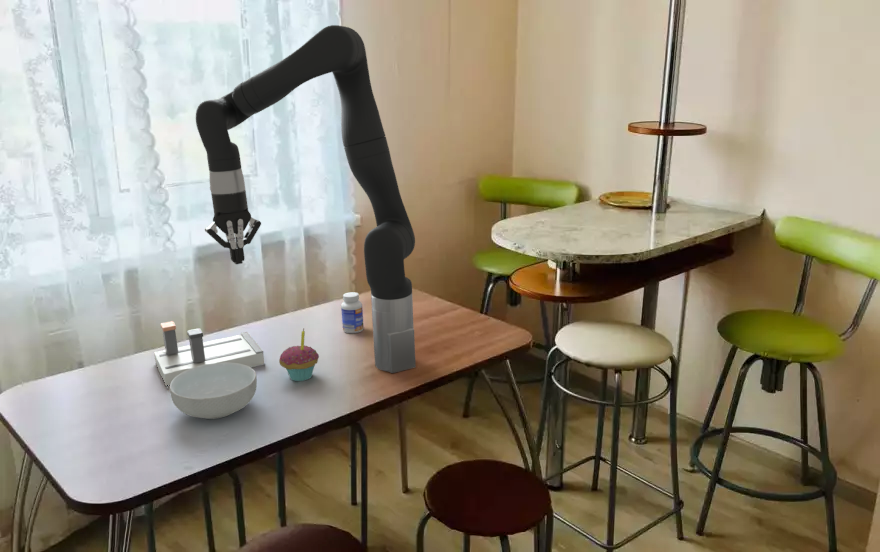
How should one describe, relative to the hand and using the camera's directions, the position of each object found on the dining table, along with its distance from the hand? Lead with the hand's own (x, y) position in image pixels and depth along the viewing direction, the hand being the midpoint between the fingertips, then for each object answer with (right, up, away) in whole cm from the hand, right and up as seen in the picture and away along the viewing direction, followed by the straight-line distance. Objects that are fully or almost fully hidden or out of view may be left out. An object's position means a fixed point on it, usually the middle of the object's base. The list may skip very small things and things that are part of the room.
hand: (238, 263), depth 171 cm
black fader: (-8, -22, -4) cm, 24 cm away
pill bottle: (+24, -17, +20) cm, 36 cm away
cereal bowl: (+1, -31, -20) cm, 37 cm away
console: (-7, -24, +1) cm, 25 cm away
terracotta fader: (-16, -21, 0) cm, 26 cm away
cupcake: (+16, -26, -6) cm, 31 cm away
